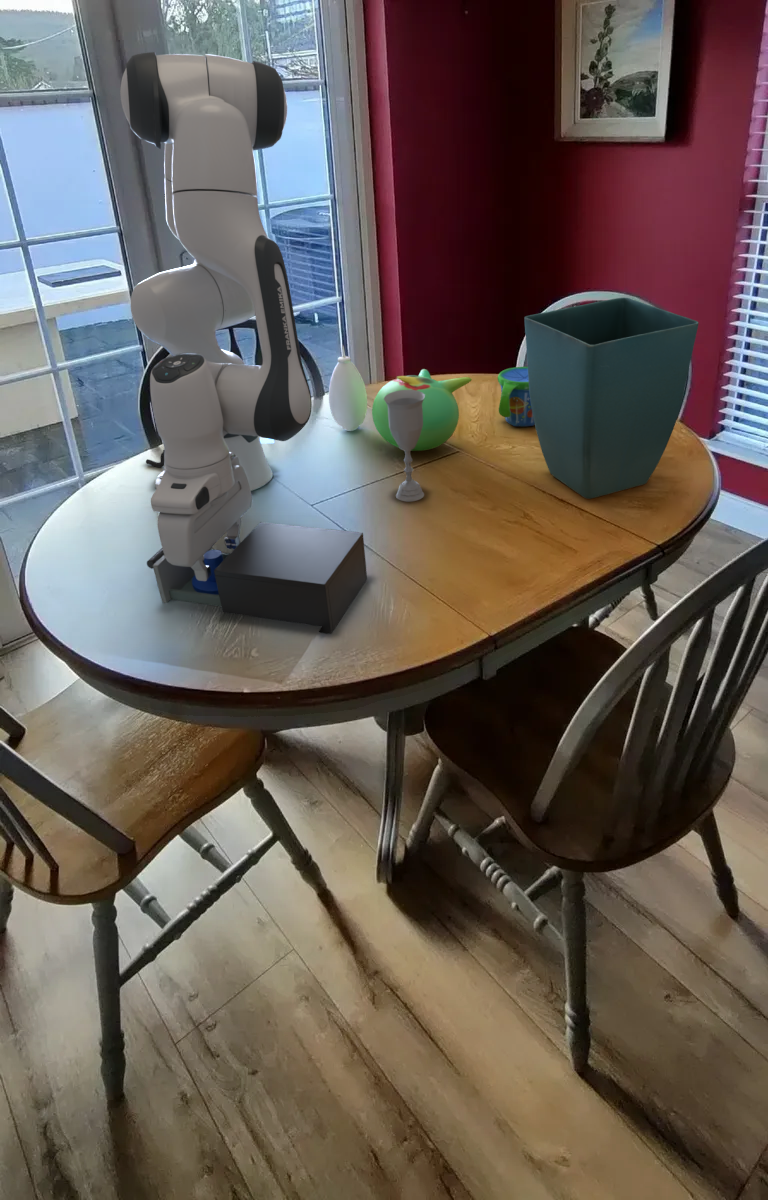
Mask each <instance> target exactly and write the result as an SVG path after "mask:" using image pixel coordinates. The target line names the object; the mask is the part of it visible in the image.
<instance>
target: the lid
mask: <svg viewBox="0 0 768 1200" xmlns="http://www.w3.org/2000/svg"><path fill="white" fill-rule="evenodd" d="M222 552H223V551H221V549H212V550H209V551H207V552H206V553H205V554H204V563H205V565H207V566H210V569H211V571H210V572H211V576H210V577H209V578H208V579H207V580H206V581H199V580H197V579H196V576H194V577H193V579H192V585H193V588H194V590H195V591H196V592H199V593H206V594H214V595H219V592H218V588H217V583H216V578H215V573H214V570H215V569H216V568H217V567H218V566H219V565H220V564H221V563H222V562H223V561H224V560H223V555H222Z"/></svg>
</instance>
